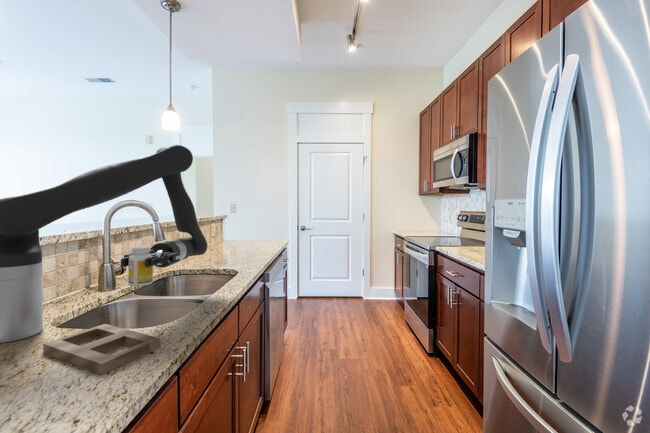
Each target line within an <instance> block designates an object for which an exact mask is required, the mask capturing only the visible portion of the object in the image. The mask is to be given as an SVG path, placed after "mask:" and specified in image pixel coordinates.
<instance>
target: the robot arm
mask: <svg viewBox="0 0 650 433" xmlns="http://www.w3.org/2000/svg"><path fill="white" fill-rule="evenodd" d="M193 161H194V156H193V153H192V151H191V150H190V149H189V148H187V147H186V146H183V145H181V144H170V145H165V146H164V145H163V146H162V147H160V148H158V149H157V150H156V151H155V153H153V154H150V155H148V156H145V157H141V158H136V159H135V158H134V159H129V160H124V161H119V162H115V163H111V164H108V165H103V166H102V167H97V168H95V169H92V170H88V171H86V172H84V173H82V174H79V175H77V176H75V177H73V178H71V179H69V180H66V181H65V182H64V183H61V184H59V185H56V186H53V187H50V188H46V189H43V190H38V191H35V192H32V193H31V192H30V193H27V194H21V195H17V196H11V197H3V198H0V343H1V344H3V343H10V342H15V341H20V340H23V339H26V338H29V337H33V336H36V335H37V334H39V333H42V332H43V330H44V316H43V315H44V312H43V310H44V305H43V302H44V301H43V300H44V298H43V293H44V292H43V291H44V290H43V289H44V288H43V253H42V248H41V245H40V244H41V243H40V229H42V228H44V227H46V226H48V225H49V224H51V223H54V222H56V221H58V220H60V219H62V218H65V217H66V216H68V215H70V214H73V213H75V212H78V211H82V210H85V209H89V208H92V207H95V206H98V205H100V204H104V203H107V202H109V201H112V200H114V199H117V198H120V197H122V196H124V195H128V193H131V192H134V191H136V190H138V189H140V188H142V187H144V186H146V185H148V184H150V183H153V182H155V181H157V180H159V179H161V180H162V182H163V185H164V187H165V189H166V193H167V196H168V198H169V202H170V205H171V209H172V214H173V219H174V222H175V223H174V224H175V227H176V230H177V231H178V232H179V233H186V234H189V235H190V236H188V237H186V236H185V237H180V238H177V239H171V240H165V241H160V242H157V243H155V244H153V245H152V246H150V252H149V254H150V255H152V257H149V258H146V260H145V266H146V267H151V266H153V267H156V268H161V269H162V268H164V269H165V268H167V267H170V266H173V265H175V264H179V262H181V261H184V260H186V259H187V258H189V257H195V256H201V255H205V254H206V252H207V250H208V242H207V239H206V237H205V236H204V234H203V231H202V230H201V228H200V226H199V223H198V219H197V213H196V210H195V206H194V204H193V202H192V199H191V197H190V195H189V194H188V192H187V191H186V188H185V186H184V184H183V179H182V173H184V172H186V171H187V170H189V169H190V167H191V166H192V164H193ZM132 255H133V254H132V251H130V252H128V253H126V254H125V253H124V254H123V257H122V258H120V266H121V267H122V268H125V267H129V257H130V256H132Z"/></svg>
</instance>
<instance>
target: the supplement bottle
mask: <svg viewBox="0 0 650 433" xmlns="http://www.w3.org/2000/svg"><path fill="white" fill-rule="evenodd" d="M150 249H151V246H135V247H132V248H131V252H132V254H133V255H132V256H130V257H129V266H128V280H127V281H128V286H130V287H143V286H149V285H151V284H153V282H154V280H153V279H154V278H153V276H154V275H153V274H154V266H151V267H146V266H145V260H146V258H149V257H152V255H150V254H149V252H150Z"/></svg>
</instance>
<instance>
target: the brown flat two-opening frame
mask: <svg viewBox="0 0 650 433" xmlns="http://www.w3.org/2000/svg"><path fill="white" fill-rule="evenodd" d="M94 338H95V339H96V338H99V339H97V340H95V341H92V342H91V341H90V342H89V343H86V344H83V345H78V344H81V343H83V342H87V341H89V340H92V339H94ZM42 344H43V345H42V346H43V347H42V348H43V354H45V355H48V356H51V357H53V358H56V359H58V360H62V361H63V362H67V363H70V364H71V365H74V366H76V367H80V368H82V369H85V370H88V371H90V372H93V373H96V374H98V375H100V376H101V375H104V374H106V373H108V372H110V371H112V370H115V369H117V368H118V367H121V366H123V365H125V364H127V363H129V362H131V361H134V360H136V359H138V358H141V357H142V356H144V355H147V354H149V353H151V352H154V351H155V350H157V349H160V348H161V346H162V345H161V337H158V336H153V335H151V334H150V335H149V334H145V333H142V332H137V331H135V330H130V329H127V328H123V327H119V326H115V325H112V324H107V323H102V324H101V325H97V326H93V327H90V328H88V329H85V330H81V331H78V332H75V333H72V334H69V335H66V336H63V337H61V338H57V339H54V340H50V341H47V342H44V343H42ZM124 345H125V346H128V347H129V348H127V349H125V350H122V351H120V352H117V353H114V354H112V355H108V354H105V353H107V352H109V351H112V350H114V349H118V348H119V347H122V346H124Z"/></svg>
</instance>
